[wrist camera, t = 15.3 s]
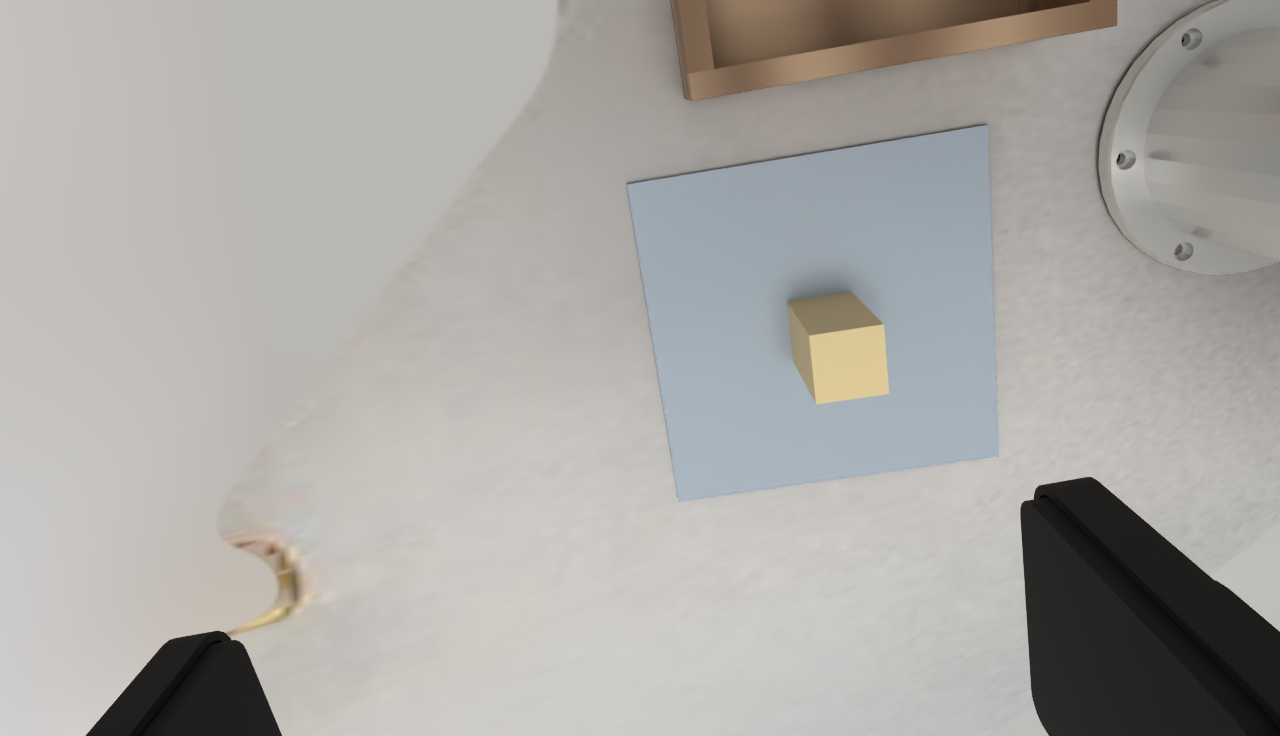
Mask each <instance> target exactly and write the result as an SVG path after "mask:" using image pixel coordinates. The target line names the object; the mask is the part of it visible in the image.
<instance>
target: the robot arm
mask: <svg viewBox="0 0 1280 736" xmlns="http://www.w3.org/2000/svg"><path fill="white" fill-rule="evenodd" d="M1183 36H1184V42H1183V44H1182V42H1181V40H1182V37H1183ZM1119 154H1120V161H1119V162H1118V163H1116V160H1117V156H1118V155H1119ZM1098 168H1099V175H1100V182H1101V189H1102V194H1103V197H1104V199H1105V202H1106V205H1107V207H1108V210H1109V213H1110V215H1111V217H1112V218H1113V220H1114V221H1115V223H1116V224H1117V226H1118V228H1119V229H1120V231H1121V232H1122V234H1123V235H1124V236H1125V237H1126V238H1127V239H1128V240H1129V241H1131V242H1132V243H1133V244H1134V245H1135V246H1136V247H1137V248H1138V249H1139V250H1140V251H1142V252H1144V253H1145V254H1147V255H1149V256H1150V257H1152V258H1154V259H1155V260H1157V261H1159V262H1162V263H1164V264H1167V265H1170V266H1172V267H1175V268H1178V269H1181V270H1186V271H1190V272H1195V273H1199V274H1215V275H1229V274H1236V273H1242V272H1248V271H1254V270H1257V269H1260V268H1263V267H1266V266H1269V265H1272V264H1275V263H1278V262H1280V0H1217V1H1215V2H1212V3H1209V4H1207V5H1204V6H1202V7H1200V8H1198V9H1197V10H1195V11H1193V12H1192V13H1190V14H1188V15H1186V16H1185V17H1183V18H1181V19H1180V20H1178V21H1176V22H1175V23H1174V24H1173V25H1172V26H1170V27H1169V28H1168V29H1167V30H1166V31H1164V32H1163V33H1162V34H1161V35H1159V36H1158V37H1157V38H1156V39H1155V40H1153V42H1152V43H1151V44H1150V45H1149V46H1148V47H1147V48H1146V49H1145V51H1144V52H1143V53H1142V54H1141V55H1140V56H1139V57H1138V59H1137V60H1136V61H1135V62H1134V63H1133V65H1132V66H1131V68H1130V69H1129V71H1128V72H1127V74H1126V76H1125V77H1124V79H1123V80H1122V82H1121V84H1120V85H1119V87H1118V88H1117V91H1116V93H1115V95H1114V98H1113V100H1112V102H1111V105H1110V107H1109V109H1108V112H1107V114H1106V117H1105V122H1104V126H1103V130H1102V134H1101V138H1100V147H1099V166H1098ZM1176 247H1177V249H1176ZM1175 249H1176V251H1175ZM1021 531H1022V547H1023V563H1024V579H1025V595H1026V611H1027V627H1028V643H1029V659H1030V675H1031V690H1032V697H1033V701H1034V705H1035V708H1036V711H1037V714H1038V716H1039V719H1040V721H1041V723H1042V725H1043V726H1044V728H1045V730H1046V731H1047V733H1048V735H1049V736H1280V632H1279V631H1278V630H1277V629H1276V628H1274V627H1273V626H1272V625H1271V624H1270V623H1269V622H1267V621H1266V620H1265V619H1264V618H1263V617H1262V616H1260V615H1259V614H1258V613H1257V612H1256V611H1255V610H1253V609H1252V608H1251V607H1250V606H1249V605H1247V604H1246V603H1245V602H1244V601H1243V600H1241V599H1240V598H1239V597H1238V596H1237V595H1235V594H1234V593H1233V592H1232V591H1231V590H1230V589H1228V588H1227V587H1225V586H1224V585H1222V584H1220V583H1219V582H1217V581H1215V580H1213V579H1212V578H1211V577H1210V576H1208V575H1207V574H1206V573H1205V572H1204V571H1203V570H1201V569H1200V568H1199V567H1198V566H1197V565H1196V564H1194V563H1193V562H1192V561H1191V560H1190V559H1189V558H1187V557H1186V556H1185V555H1184V554H1183V553H1182V552H1180V551H1179V550H1178V549H1177V548H1176V547H1175V546H1173V545H1172V544H1171V543H1170V542H1169V541H1168V540H1166V539H1165V538H1164V537H1163V536H1162V535H1160V534H1159V533H1158V532H1157V531H1156V530H1155V529H1153V528H1152V527H1151V526H1150V525H1149V524H1148V523H1146V522H1145V521H1144V520H1143V519H1142V518H1141V517H1139V516H1138V515H1137V514H1136V513H1135V512H1134V511H1132V510H1131V509H1130V508H1129V507H1128V506H1127V505H1125V504H1124V503H1123V502H1122V501H1121V500H1120V499H1118V498H1117V497H1116V496H1115V495H1114V494H1112V493H1111V492H1110V491H1109V490H1108V489H1107V488H1105V487H1104V486H1103V485H1102V484H1101V483H1100V482H1098V481H1097V480H1095V479H1094V478H1092V477H1085V478H1079V479H1074V480H1068V481H1062V482H1057V483H1051V484H1045V485H1040V486H1038V487H1037V488H1036V490H1035V494H1034V500H1029V501H1024V502H1023V503H1022V505H1021ZM86 736H282V735H281V732H280V730H279V727H278V725H277V723H276V720H275V718H274V715H273V713H272V711H271V708H270V706H269V703H268V701H267V699H266V696H265V694H264V691H263V689H262V687H261V684H260V682H259V679H258V677H257V675H256V672H255V670H254V667H253V665H252V663H251V660H250V658H249V655H248V653H247V651H246V649H245V647H244V645H243V644H242V643H240V642H239V641H236V640H231V638H230V637H229V636H228V635H227V634H226V633H224V632H220V631H214V632H208V633H202V634H197V635H192V636H185V637H180V638H175V639H172V640H169V641H168V642H167V643H165V644H164V645H163V646H162V647H161V648H160V649H159V651H158V652H157V653H156V654H155V655H154V656H153V658H152V659H151V660H150V661H149V662H148V663H147V665H146V666H145V667H144V668H143V669H142V671H141V672H140V673H139V674H138V675H137V676H136V677H135V679H134V680H133V681H132V682H131V683H130V684H129V686H128V687H127V688H126V689H125V690H124V692H123V693H122V694H121V695H120V696H119V697H118V699H117V700H116V701H115V702H114V703H113V704H112V706H111V707H110V708H109V709H108V710H107V711H106V713H105V714H104V715H103V716H102V717H101V718H100V720H99V721H98V722H97V723H96V724H95V725H94V727H93V728H92V729H91V730H90V731H89V732H88V734H87V735H86Z"/></svg>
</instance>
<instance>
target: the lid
mask: <svg viewBox="0 0 1280 736" xmlns="http://www.w3.org/2000/svg"><path fill="white" fill-rule="evenodd" d="M627 189H628V195H629V201H630V207H631V213H632V220H633V226H634V232H635V238H636V244H637V250H638V256H639V262H640V268H641V274H642V280H643V286H644V292H645V298H646V304H647V310H648V316H649V323H650V329H651V335H652V341H653V347H654V353H655V359H656V365H657V371H658V377H659V383H660V389H661V395H662V401H663V407H664V413H665V419H666V426H667V432H668V438H669V444H670V450H671V456H672V462H673V468H674V474H675V480H676V486H677V492H678V498H679V502H680V501H687V500H694V499H701V498H708V497H715V496H723V495H730V494H737V493H744V492H751V491H758V490H765V489H772V488H779V487H786V486H793V485H800V484H807V483H814V482H821V481H828V480H835V479H843V478H850V477H857V476H864V475H871V474H878V473H885V472H892V471H899V470H906V469H913V468H920V467H927V466H934V465H941V464H948V463H955V462H962V461H970V460H977V459H984V458H991V457H998V427H997V394H996V360H995V327H994V293H993V260H992V227H991V193H990V160H989V126H988V125H980V126H974V127H968V128H962V129H956V130H950V131H944V132H938V133H932V134H926V135H920V136H914V137H908V138H901V139H895V140H889V141H883V142H877V143H871V144H865V145H859V146H853V147H847V148H841V149H835V150H829V151H823V152H817V153H811V154H805V155H799V156H792V157H786V158H780V159H774V160H768V161H762V162H756V163H750V164H744V165H738V166H732V167H726V168H720V169H714V170H708V171H702V172H696V173H690V174H683V175H677V176H671V177H665V178H659V179H653V180H647V181H641V182H635V183H629V184H627Z"/></svg>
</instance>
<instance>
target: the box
mask: <svg viewBox="0 0 1280 736" xmlns="http://www.w3.org/2000/svg"><path fill="white" fill-rule="evenodd" d="M670 1H671V8H672V14H673V21H674V28H675V35H676V42H677V49H678V56H679V63H680V70H681V76H682V83H683V90H684V97H685V99H687V100H691V101H695V100H701V99H706V98H712V97H717V96H723V95H729V94H734V93H740V92H746V91H751V90H757V89H763V88H768V87H774V86H780V85H785V84H791V83H797V82H802V81H808V80H813V79H819V78H825V77H830V76H836V75H842V74H847V73H853V72H859V71H864V70H870V69H876V68H881V67H887V66H893V65H898V64H904V63H909V62H915V61H921V60H926V59H932V58H938V57H943V56H949V55H955V54H960V53H966V52H972V51H977V50H983V49H989V48H994V47H1000V46H1005V45H1011V44H1017V43H1022V42H1028V41H1034V40H1039V39H1045V38H1051V37H1056V36H1062V35H1068V34H1073V33H1079V32H1085V31H1090V30H1096V29H1101V28H1107V27H1113V26H1117V0H670Z"/></svg>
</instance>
